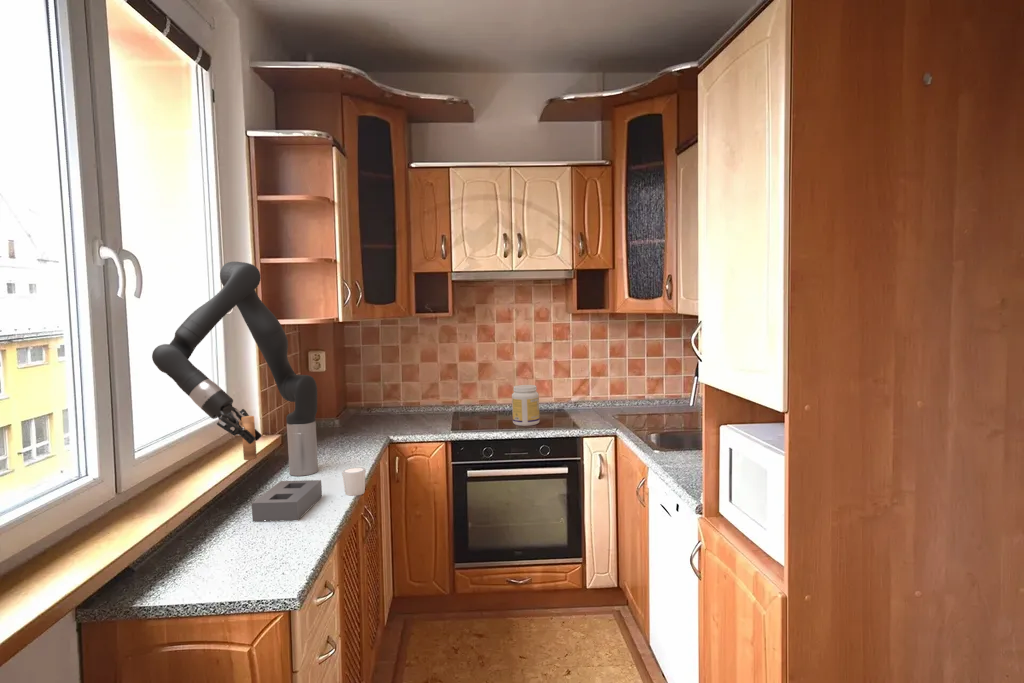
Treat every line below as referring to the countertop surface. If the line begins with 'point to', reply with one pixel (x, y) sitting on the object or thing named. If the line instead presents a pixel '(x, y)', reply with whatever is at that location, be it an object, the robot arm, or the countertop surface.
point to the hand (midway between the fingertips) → (256, 439)
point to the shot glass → (354, 481)
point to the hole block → (287, 500)
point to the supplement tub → (525, 405)
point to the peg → (248, 449)
